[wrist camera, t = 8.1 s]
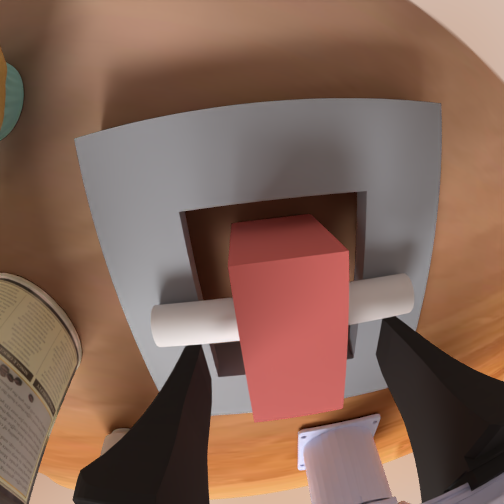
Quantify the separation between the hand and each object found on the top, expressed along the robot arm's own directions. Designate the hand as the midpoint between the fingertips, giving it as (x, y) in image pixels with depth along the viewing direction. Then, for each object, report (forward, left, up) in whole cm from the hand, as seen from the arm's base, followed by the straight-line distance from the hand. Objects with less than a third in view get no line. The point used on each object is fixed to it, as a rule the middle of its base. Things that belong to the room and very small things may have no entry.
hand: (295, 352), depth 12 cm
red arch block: (0, 0, -6) cm, 6 cm away
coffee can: (-3, +19, -7) cm, 20 cm away
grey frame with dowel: (0, 0, -7) cm, 7 cm away
